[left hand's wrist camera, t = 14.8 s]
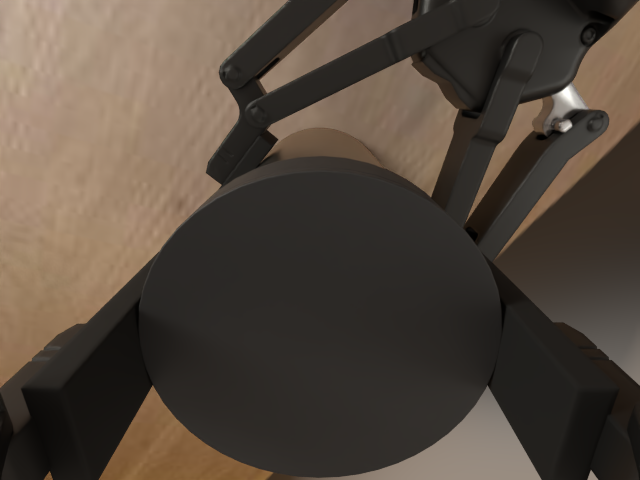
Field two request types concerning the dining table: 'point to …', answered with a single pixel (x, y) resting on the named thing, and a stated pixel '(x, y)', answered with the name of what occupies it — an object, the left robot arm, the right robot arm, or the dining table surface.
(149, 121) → the dining table surface
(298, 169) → the lid
